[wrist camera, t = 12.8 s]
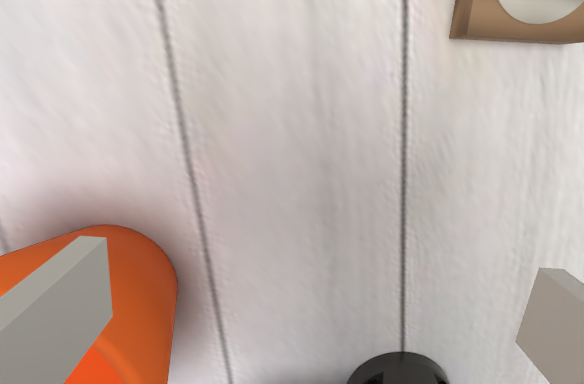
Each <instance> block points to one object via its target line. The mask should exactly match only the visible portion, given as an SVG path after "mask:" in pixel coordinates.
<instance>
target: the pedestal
mask: <svg viewBox="0 0 584 384" xmlns="http://www.w3.org/2000/svg"><path fill="white" fill-rule="evenodd" d="M449 38H450V39H469V40H488V41H508V42H527V43H546V44H570V43H581V42H584V0H456V2H455V7H454V13H453V19H452V25H451V31H450V37H449Z"/></svg>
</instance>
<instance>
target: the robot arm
mask: <svg viewBox="0 0 584 384" xmlns="http://www.w3.org/2000/svg"><path fill="white" fill-rule="evenodd" d="M112 317H113V312H112V300H111V288H110V276H109V264H108V252H107V240H106V237H92V236H79V237H78V238H76V239H75V240H74V241H73V242H71V243H70V244H69V245H67V246H66V247H65V248H63V249H62V250H61V251H60V252H58V253H57V254H56V255H54V256H53V257H52V258H50V259H49V260H48V261H47V262H45V263H44V264H43V265H41V266H40V267H39V268H37V269H36V270H35V271H34V272H32V273H31V274H30V275H28V276H27V277H26V278H25V279H23V280H22V281H21V282H19V283H18V284H17V285H15V286H14V287H13V288H12V289H10V290H9V291H8V292H6V293H5V294H4V295H2V296H1V297H0V384H63V383H64V382H65V381H66V379H67V378H68V377H69V375H70V374H71V373H72V371H73V370H74V368H75V367H76V366H77V364H78V363H79V362H80V360H81V359H82V358H83V356H84V355H85V353H86V352H87V351H88V349H89V348H90V347H91V345H92V344H93V343H94V341H95V340H96V338H97V337H98V336H99V334H100V333H101V332H102V330H103V329H104V328H105V326H106V325H107V323H108V322H109V321H110V319H111V318H112ZM515 342H516V343H517V344H518V346H519V347H520V348H521V349H522V350H523V351H524V353H525V354H526V355H527V356H528V357H529V359H530V360H531V361H532V362H533V363H534V365H535V366H536V367H537V368H538V369H539V371H540V372H541V373H542V374H543V375H544V376H545V378H546V379H547V380H548V381H549V382H550V384H584V284H583V283H582V282H581V281H579V280H578V279H576V278H575V277H574V276H572V275H571V274H569V273H568V272H567V271H565V270H564V269H552V268H539V270H538V273H537V276H536V279H535V282H534V285H533V288H532V291H531V294H530V298H529V301H528V304H527V307H526V310H525V313H524V316H523V319H522V322H521V326H520V329H519V332H518V335H517V338H516V341H515ZM347 384H450V383H449V381H448V379H447V377H446V375H445V373H444V372H443V370H442V369H441V368H440V367H439V366H438V365H437V364H436V363H435V362H433V361H432V360H430V359H428V358H426V357H424V356H421V355H417V354H413V353H390V354H385V355H382V356H379V357H376V358H374V359H372V360H370V361H368V362H366V363H365V364H363V365H362V366H361V367H360V368H358V369H357V370H356V371H355V372H354V374H353V375H352V376H351V378H350V380H349V381H348V383H347Z"/></svg>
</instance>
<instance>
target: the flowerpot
mask: <svg viewBox="0 0 584 384" xmlns="http://www.w3.org/2000/svg"><path fill="white" fill-rule="evenodd" d="M79 236H92V237H106V240H107V252H108V264H109V276H110V288H111V300H112V312H113V317H112V318H111V319H110V321H109V322H108V323H107V325H106V326H105V328H104V329H103V330H102V332H101V333H100V334H99V336H98V337H97V338H96V340H95V341H94V343H93V344H92V345H91V347H90V348H89V349H88V351H87V352H86V353H85V355H84V356H83V358H82V359H81V360H80V362H79V363H78V364H77V366H76V367H75V368H74V370H73V371H72V373H71V374H70V375H69V377H68V378H67V379H66V381H65V382H64V383H63V384H167V382H168V373H169V363H170V354H171V345H172V336H173V327H174V318H175V308H176V299H177V278H176V274H175V270H174V268H173V266H172V263H171V261H170V260H169V258H168V257H167V255H166V254H165V253H164V251H163V250H162V249H161V248H160V247H159V246H158V245H157V244H156V243H155V242H153V241H152V240H150V239H149V238H147V237H146V236H144V235H143V234H141V233H139V232H136V231H134V230H132V229H129V228H125V227H121V226H116V225H96V226H90V227H87V228H84V229H80V230H77V231H74V232H71V233H68V234H65V235H62V236H59V237H56V238H53V239H50V240H47V241H44V242H41V243H38V244H35V245H32V246H29V247H26V248H23V249H20V250H17V251H14V252H11V253H8V254H5V255H2V256H0V297H1V296H2V295H4V294H5V293H6V292H8V291H9V290H10V289H12V288H13V287H14V286H15V285H17V284H18V283H19V282H21V281H22V280H23V279H25V278H26V277H27V276H28V275H30V274H31V273H32V272H34V271H35V270H36V269H37V268H39V267H40V266H41V265H43V264H44V263H45V262H47V261H48V260H49V259H50V258H52V257H53V256H54V255H56V254H57V253H58V252H60V251H61V250H62V249H63V248H65V247H66V246H67V245H69V244H70V243H71V242H73V241H74V240H75V239H76V238H78V237H79Z"/></svg>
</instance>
